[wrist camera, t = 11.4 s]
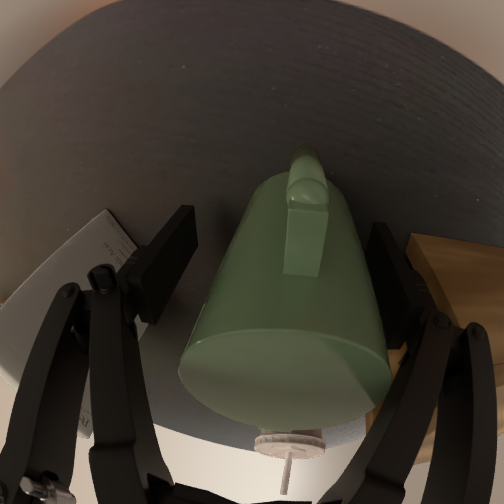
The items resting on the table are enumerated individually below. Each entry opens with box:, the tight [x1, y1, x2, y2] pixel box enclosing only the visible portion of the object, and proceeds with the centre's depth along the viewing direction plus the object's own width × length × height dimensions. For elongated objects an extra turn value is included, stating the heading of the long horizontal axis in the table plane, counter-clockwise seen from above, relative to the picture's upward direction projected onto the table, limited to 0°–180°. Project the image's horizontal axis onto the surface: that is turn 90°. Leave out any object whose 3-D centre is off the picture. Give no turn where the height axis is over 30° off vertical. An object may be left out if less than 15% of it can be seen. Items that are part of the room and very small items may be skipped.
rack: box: [365, 233, 504, 465], centre depth 14 cm, size 14×14×12 cm
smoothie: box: [254, 428, 326, 495], centre depth 21 cm, size 6×6×14 cm
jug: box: [178, 144, 392, 433], centre depth 12 cm, size 10×7×12 cm, turn 0°
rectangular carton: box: [0, 209, 148, 439], centre depth 17 cm, size 9×9×15 cm
